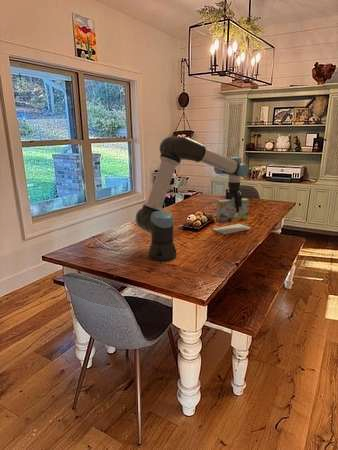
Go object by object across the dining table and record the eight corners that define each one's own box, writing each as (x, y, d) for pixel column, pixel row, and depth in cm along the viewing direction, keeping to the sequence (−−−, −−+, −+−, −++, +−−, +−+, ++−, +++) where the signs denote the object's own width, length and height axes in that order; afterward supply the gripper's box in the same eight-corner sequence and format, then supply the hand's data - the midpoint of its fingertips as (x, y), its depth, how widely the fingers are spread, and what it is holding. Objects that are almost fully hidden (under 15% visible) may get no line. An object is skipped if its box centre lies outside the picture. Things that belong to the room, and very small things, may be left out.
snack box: (219, 224, 207) (220, 201, 203) (216, 221, 212) (216, 199, 208) (248, 221, 213) (249, 199, 209) (244, 219, 218) (245, 197, 214)
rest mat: (252, 228, 215) (252, 227, 215) (222, 234, 203) (222, 233, 203) (240, 224, 225) (240, 223, 225) (210, 229, 213) (210, 228, 213)
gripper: (249, 183, 199) (246, 218, 205) (228, 179, 215) (227, 211, 221) (240, 184, 195) (238, 220, 202) (220, 180, 211) (218, 213, 218)
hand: (232, 215), depth 212 cm, fingers closed on snack box, 6 cm apart
